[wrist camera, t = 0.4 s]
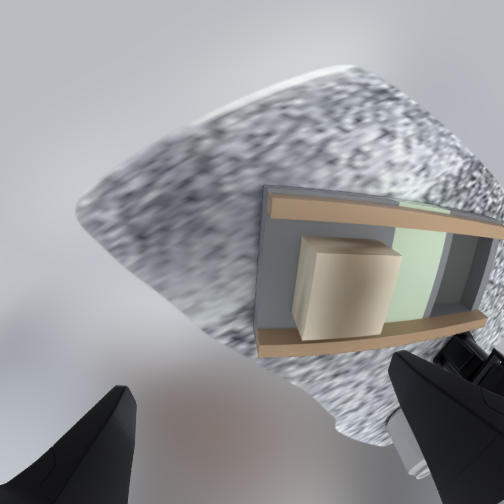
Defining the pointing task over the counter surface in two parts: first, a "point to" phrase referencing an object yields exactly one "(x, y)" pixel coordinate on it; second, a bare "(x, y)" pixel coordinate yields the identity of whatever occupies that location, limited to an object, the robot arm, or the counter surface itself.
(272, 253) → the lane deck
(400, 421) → the can
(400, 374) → the robot arm
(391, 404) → the counter surface
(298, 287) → the maple block
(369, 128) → the counter surface
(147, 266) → the counter surface
